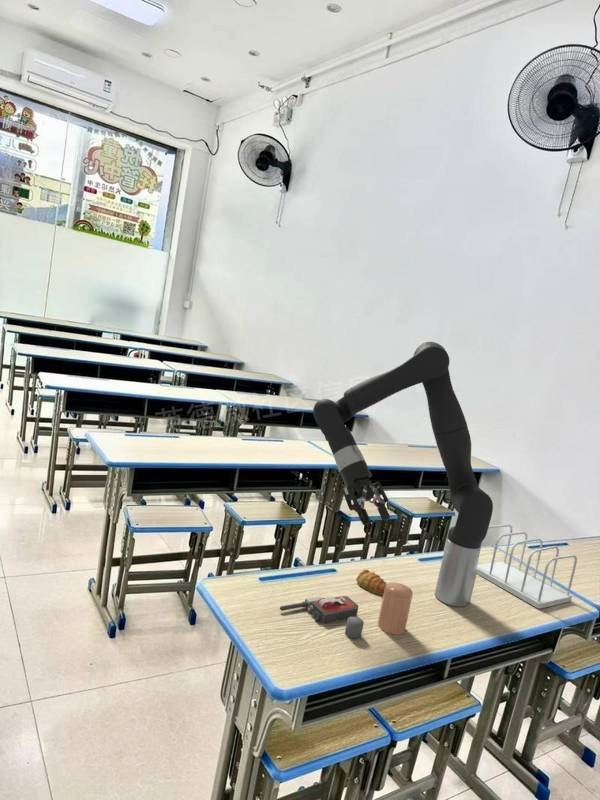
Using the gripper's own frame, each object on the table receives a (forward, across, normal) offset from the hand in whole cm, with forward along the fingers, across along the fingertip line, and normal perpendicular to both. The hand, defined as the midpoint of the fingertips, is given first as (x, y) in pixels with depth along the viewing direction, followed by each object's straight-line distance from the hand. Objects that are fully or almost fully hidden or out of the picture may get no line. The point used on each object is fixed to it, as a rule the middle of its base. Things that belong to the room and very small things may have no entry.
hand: (377, 521), depth 140 cm
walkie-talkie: (+15, -14, +18) cm, 27 cm away
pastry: (+13, +11, +20) cm, 26 cm away
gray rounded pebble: (+22, -14, +10) cm, 28 cm away
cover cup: (+24, -2, +8) cm, 25 cm away
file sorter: (+30, +59, +3) cm, 66 cm away
